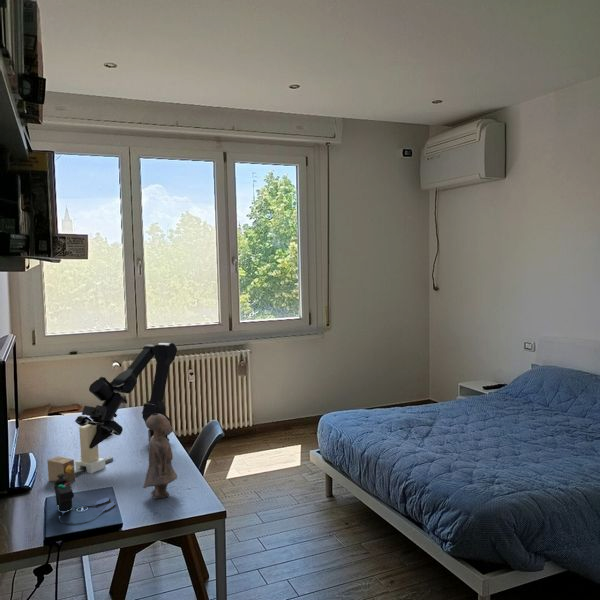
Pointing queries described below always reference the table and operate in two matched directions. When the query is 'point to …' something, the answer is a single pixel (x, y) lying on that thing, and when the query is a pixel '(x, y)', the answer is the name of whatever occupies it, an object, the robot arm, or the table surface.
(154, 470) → the clay figurine
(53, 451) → the table surface
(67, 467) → the brown block with rod
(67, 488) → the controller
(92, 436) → the cream block on base
